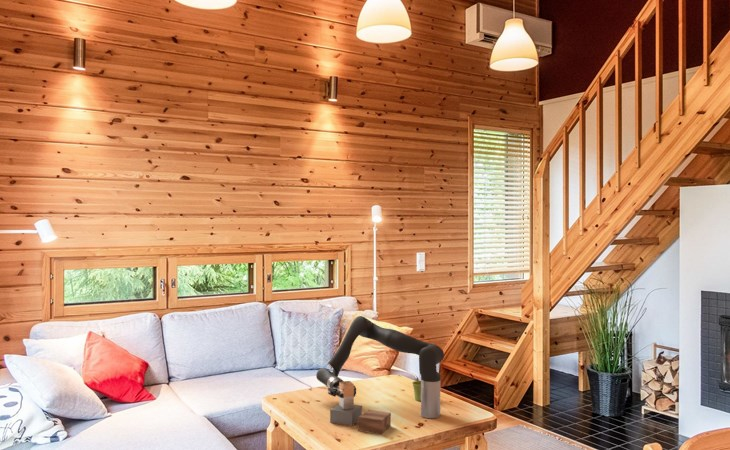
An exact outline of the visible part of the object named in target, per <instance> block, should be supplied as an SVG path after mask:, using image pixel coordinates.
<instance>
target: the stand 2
mask: <svg viewBox="0 0 730 450" xmlns="http://www.w3.org/2000/svg"><path fill="white" fill-rule="evenodd" d="M391 417H392V416H391V412H385V411H381V410H379V411H378V410H374V409H373V410H372V409H367V410H366V411H365V412H362V415H360V416H359V417H358V422H357V423H358V427H357V428H358V431H359V432H360V431H361V432H365V433H372V434H376V435H377V434H379V435H382V434H383V433H385V432H386V431H387V430H389V428H391V427H392V424H391V423H392V422H391V421H392V420H391V419H392V418H391Z"/></svg>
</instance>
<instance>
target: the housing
mask: <svg viewBox="0 0 730 450" xmlns="http://www.w3.org/2000/svg"><path fill="white" fill-rule="evenodd" d="M343 381H344V380H343ZM354 386H355V385H354V383H353V382H351V380H345V381H344V382H339V390H340V391H341V392H342V393H343V398H341V397H339V398H338V399H339V401H338V404H339V406H340V407H341V408H343V409H351V408H354V405H355V403H354V402H355V401H354V400H355V397H354Z"/></svg>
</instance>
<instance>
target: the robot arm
mask: <svg viewBox="0 0 730 450" xmlns="http://www.w3.org/2000/svg"><path fill="white" fill-rule="evenodd" d="M359 336H360V337H362V338H366V339H369V340H373V341H376V342H379V343H380V344H381V345H383V346H385V347H387V348H389V349H392V350H394V351H397V352H399V353H404V354H411V355H416V356H418V367H419V375H420V381H421V401H420V416H421V417H422V418H425V419H439V418H440V417H441V373H440V372H438V371H437V365H438V364H440V363H441V362H442V361H443V360H444V359H445V353H444V350H443V349H442V347H441V346H440V345H437V344H433V343H431V342H427V341H423V340H420V339H417V338H415V337H413V336H410V335H408V334H405V333H404V332H401V331H399V330H396V329H392V328H385V327H382V326H379V325H378V324H376V323H374V322H372V321H371V320H370V319H368V318H366V317H365V316H362V315H359V316H356V317H355V318H354V319H353V320H352V322H351V323H350V326H349V327H348V330H347V332H346V334H345V336H344V337H343V339H342V341H341V343H340V345H339V346H338V348H337V350H336V351H335V353H333V355H332V357H331V358H330V359H329V362H328V363H329V366H330V367H331V369H332V371H331V370H329V369H328V368H326V367H321V368H319V369H318V370H317V372H316V380H317V381H319V382H320V383H322V384H323V385H325V386H326V387H327V394H328V395H329V396H332V397H333V398H335V397H336V396H337V397H341V398H343V393H342V392H341V391H340V390H339V382H344V380H343V379H342V378H341V377H339V373H340V372H341V369H342V368H343V366H344V365H345V363H346V362H347V361H348V359H349V357H350V355H351V352H352V348H353V345H354V342H355V341H356V340H357V338H358V337H359ZM356 395H357V388H356V385H354V398H355V397H356Z"/></svg>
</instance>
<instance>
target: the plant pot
mask: <svg viewBox="0 0 730 450" xmlns="http://www.w3.org/2000/svg"><path fill="white" fill-rule="evenodd" d="M411 384H412V387H413V393H414V399H415V401H417V402H421V380H415V381H412V383H411Z"/></svg>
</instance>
